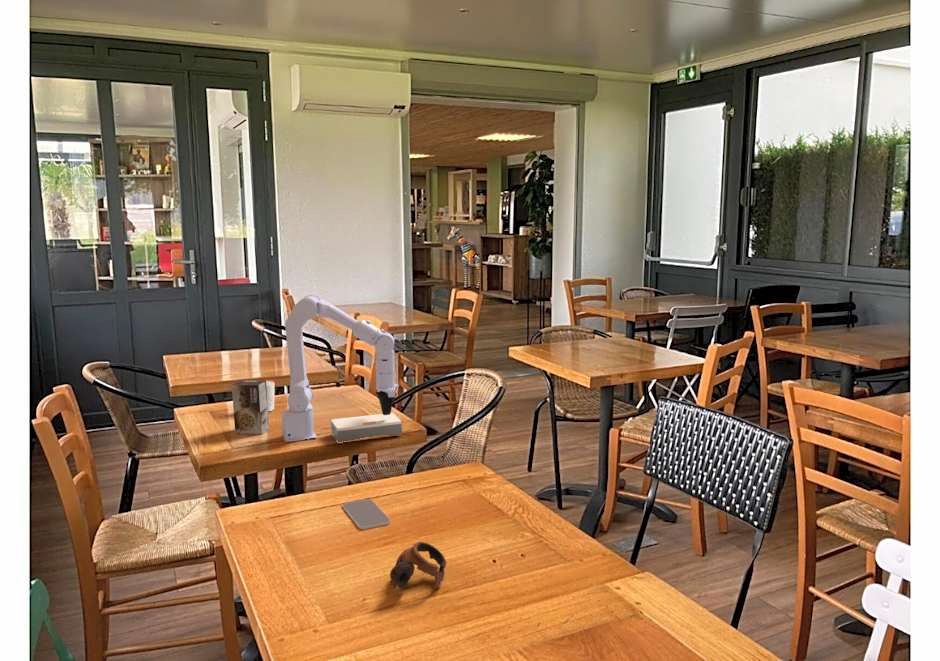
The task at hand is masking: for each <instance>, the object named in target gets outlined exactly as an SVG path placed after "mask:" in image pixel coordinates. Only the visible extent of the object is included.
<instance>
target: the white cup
mask: <svg viewBox="0 0 940 661" xmlns="http://www.w3.org/2000/svg"><path fill="white" fill-rule="evenodd" d="M266 389H267V405H268V411H272V410H273V409H274V410H275V382H274V381H273V380H266ZM272 412H273V411H272Z"/></svg>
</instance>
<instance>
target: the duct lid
mask: <svg viewBox="0 0 940 661" xmlns="http://www.w3.org/2000/svg"><path fill="white" fill-rule="evenodd" d="M330 420H331V421H330V423H331V422H332V424H333V425H334V427H335V428H336V430H337V431H343V430H351V429H360V428H369V427H378V426H386V425H395V424H403V422H402V420H401V419H400V418H399V417H398V416H397V415H395V413H394V412H391V413H390V415H383V413H379V414H377V413H376V414H369V415H368V414H367V415H361V416H352V417H351V416H350V417H341V418H333V419H330Z"/></svg>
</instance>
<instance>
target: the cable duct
mask: <svg viewBox="0 0 940 661" xmlns="http://www.w3.org/2000/svg"><path fill="white" fill-rule="evenodd" d="M402 424H403V423H402ZM402 424H395V425H386V426H378V427H369V428H360V429H351V430H343V431H337V430H336V428H335V427H334V425H333V424H332V422H331V421H330V426H331V427H330V428H331V435H332V434H333V435H334V437H335V439H336V440H337V441H338V442H342V441H343V442H344V441H349V440H350V441H351V440H355V439H360V438H365V437H373V436H379V435H380V436H381V435H402V436H403V430H402V429H403V428H402ZM334 437H333V438H334ZM335 439H334V440H335ZM336 440H335V441H336Z"/></svg>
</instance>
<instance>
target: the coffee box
mask: <svg viewBox="0 0 940 661" xmlns="http://www.w3.org/2000/svg"><path fill="white" fill-rule="evenodd" d="M266 381H267V380H266V379H265V380H263V379H262V380H260V379H259V380H258V379H253V380H252V379H251V380H250V379H241V380H237V381H236V382H234V383H233V384H231V393H232V406H233V407H232V408H233V420H234V422H233V423H234V434H235V433H240V434H241V435H243V434H244V435H247V434H248V435H263V434H264V433H265V432H267V431H268V430H269V428H270V427H269V425H270V424H269V423H270V422H269V413H268V405H267V389H266ZM266 430H267V431H266ZM262 433H263V434H262ZM240 434H239V435H240Z"/></svg>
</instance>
